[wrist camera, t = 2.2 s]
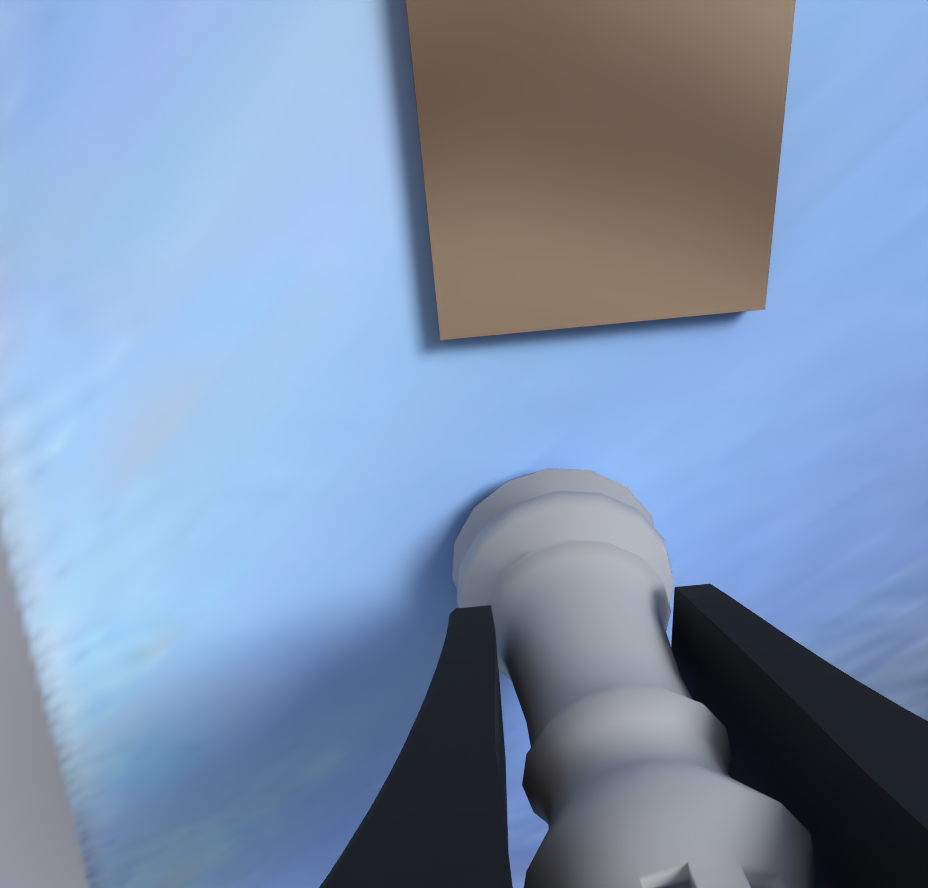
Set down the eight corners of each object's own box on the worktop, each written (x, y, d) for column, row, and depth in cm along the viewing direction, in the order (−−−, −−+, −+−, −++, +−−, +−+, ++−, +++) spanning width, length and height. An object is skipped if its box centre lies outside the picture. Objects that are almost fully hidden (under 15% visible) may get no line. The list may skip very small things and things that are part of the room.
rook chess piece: (610, 649, 14) (807, 1136, 7) (428, 614, 14) (420, 1106, 6) (683, 484, 13) (1042, 875, 5) (481, 436, 12) (557, 799, 5)
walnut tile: (748, 304, 11) (764, 309, 11) (440, 334, 11) (440, 340, 11) (783, -84, 9) (806, -103, 9) (400, -51, 9) (398, -68, 9)
